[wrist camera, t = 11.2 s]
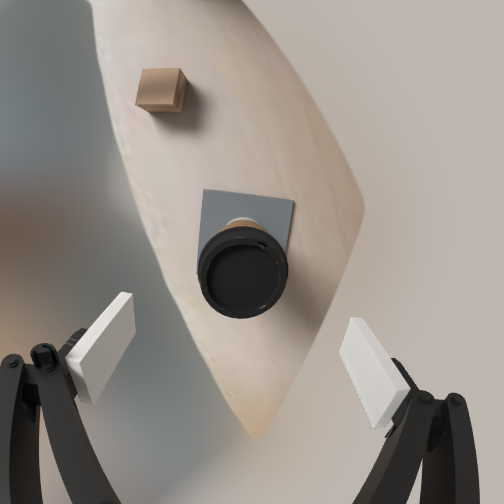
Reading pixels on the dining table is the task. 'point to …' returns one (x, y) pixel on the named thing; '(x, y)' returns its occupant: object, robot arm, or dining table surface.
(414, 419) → the robot arm
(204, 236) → the slate coaster
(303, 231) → the dining table surface
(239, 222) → the coffee cup
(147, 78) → the walnut block
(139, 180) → the dining table surface
